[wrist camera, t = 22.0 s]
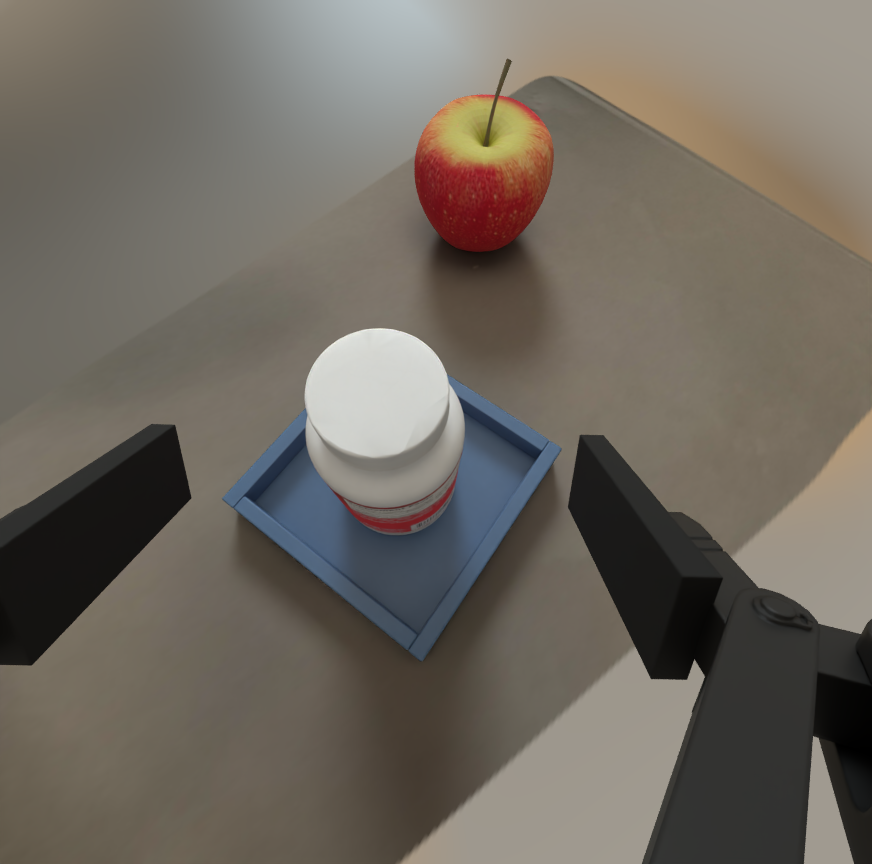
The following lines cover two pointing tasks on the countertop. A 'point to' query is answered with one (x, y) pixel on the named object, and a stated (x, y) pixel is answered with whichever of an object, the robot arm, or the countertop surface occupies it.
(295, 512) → the medicine tray
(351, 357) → the pill bottle
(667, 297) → the countertop surface
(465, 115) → the apple
